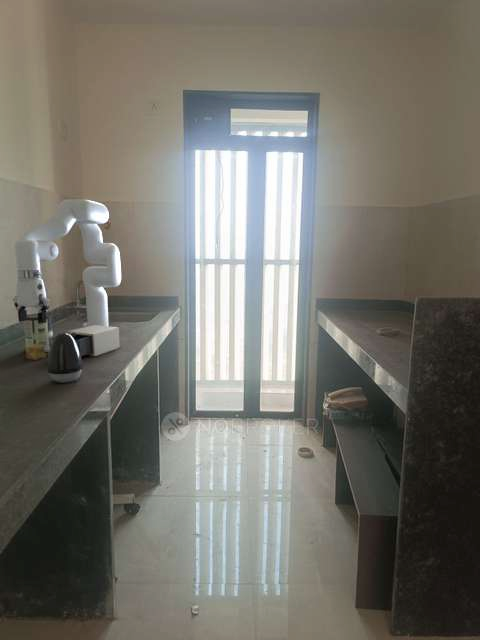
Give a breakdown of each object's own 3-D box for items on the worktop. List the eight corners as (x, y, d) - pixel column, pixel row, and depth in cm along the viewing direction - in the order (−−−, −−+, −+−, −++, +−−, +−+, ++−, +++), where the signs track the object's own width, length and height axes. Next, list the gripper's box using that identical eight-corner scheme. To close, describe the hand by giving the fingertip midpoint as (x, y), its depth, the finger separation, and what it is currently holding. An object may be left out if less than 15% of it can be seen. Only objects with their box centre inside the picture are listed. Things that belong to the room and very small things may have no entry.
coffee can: (41, 345, 173) (39, 312, 170) (59, 348, 169) (57, 314, 166) (19, 351, 164) (16, 316, 161) (38, 354, 159) (35, 318, 157)
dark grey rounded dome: (90, 377, 133) (88, 330, 130) (67, 387, 124) (64, 337, 121) (65, 373, 136) (62, 328, 134) (40, 383, 127) (36, 334, 124)
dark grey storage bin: (64, 363, 145) (63, 344, 144) (40, 359, 149) (38, 341, 148) (102, 350, 162) (101, 333, 161) (79, 347, 167) (78, 331, 165)
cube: (26, 358, 154) (25, 346, 153) (36, 355, 158) (35, 344, 157) (35, 359, 152) (34, 347, 151) (45, 356, 156) (44, 345, 155)
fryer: (94, 356, 158) (93, 334, 156) (69, 352, 162) (67, 331, 161) (119, 347, 171) (118, 327, 169) (95, 344, 176) (94, 324, 174)
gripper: (55, 275, 150) (58, 322, 152) (20, 274, 156) (24, 318, 159) (38, 276, 143) (41, 325, 146) (2, 275, 149) (6, 321, 152)
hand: (32, 322), depth 152 cm, fingers open, 9 cm apart
